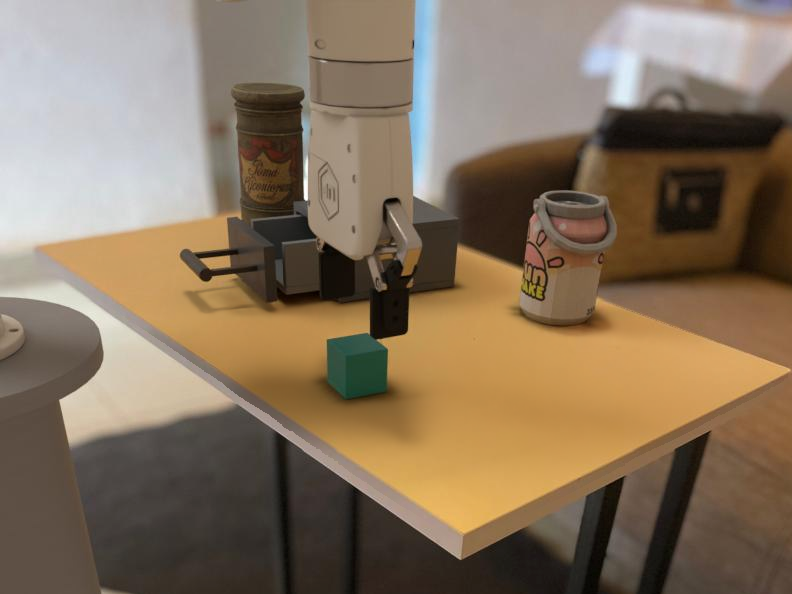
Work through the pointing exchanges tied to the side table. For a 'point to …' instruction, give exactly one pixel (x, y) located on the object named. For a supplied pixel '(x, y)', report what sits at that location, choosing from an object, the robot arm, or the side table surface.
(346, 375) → the block
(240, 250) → the tray
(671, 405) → the side table surface
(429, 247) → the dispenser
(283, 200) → the container
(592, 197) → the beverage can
